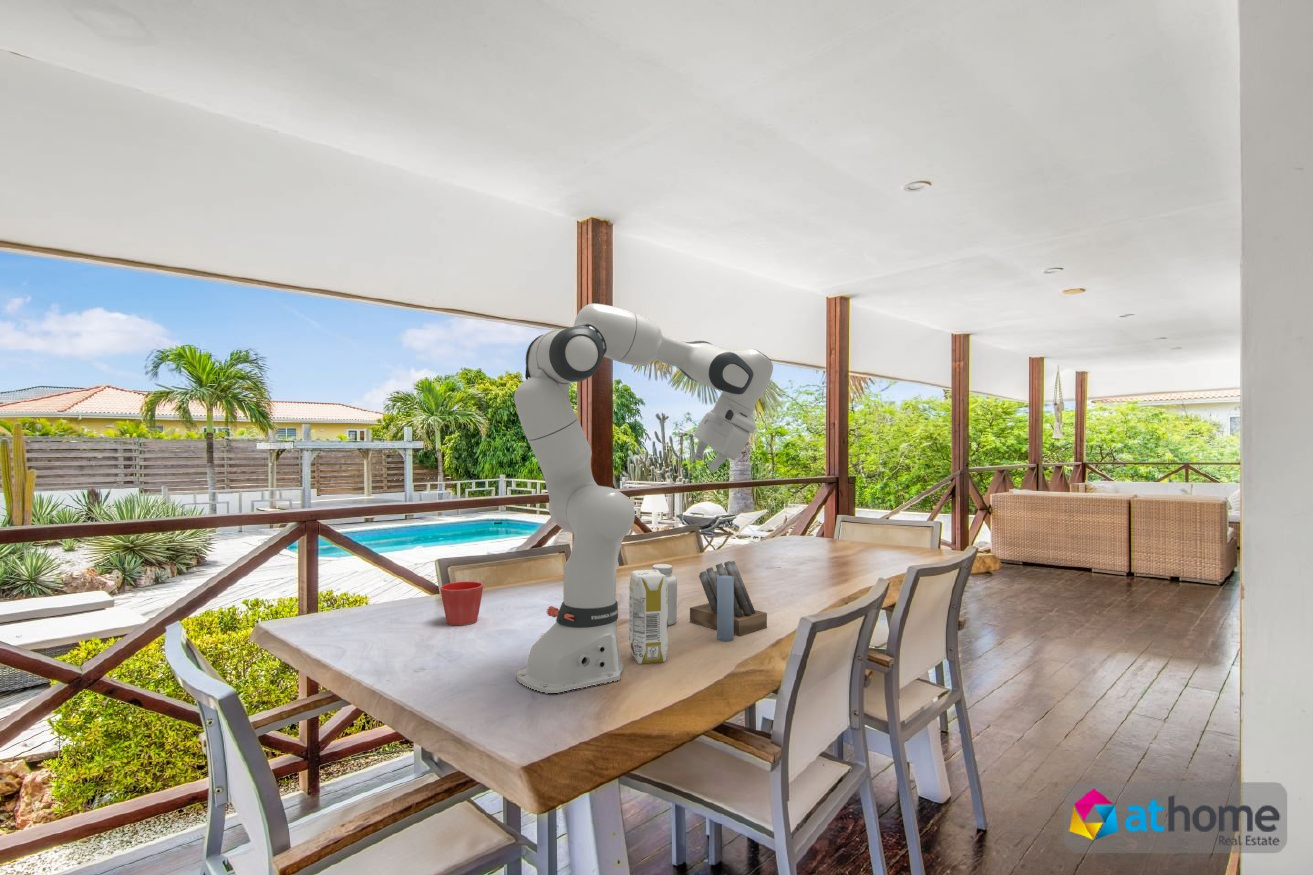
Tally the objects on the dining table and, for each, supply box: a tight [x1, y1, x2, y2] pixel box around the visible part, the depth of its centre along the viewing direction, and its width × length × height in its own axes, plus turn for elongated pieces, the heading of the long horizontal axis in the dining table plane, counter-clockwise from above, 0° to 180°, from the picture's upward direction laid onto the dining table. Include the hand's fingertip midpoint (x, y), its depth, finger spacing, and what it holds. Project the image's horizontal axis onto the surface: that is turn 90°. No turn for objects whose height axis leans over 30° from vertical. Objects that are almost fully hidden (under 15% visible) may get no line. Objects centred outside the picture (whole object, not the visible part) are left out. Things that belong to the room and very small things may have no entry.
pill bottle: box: [651, 563, 678, 626], centre depth 177 cm, size 8×8×15 cm
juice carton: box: [628, 569, 669, 665], centre depth 149 cm, size 8×9×19 cm
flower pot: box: [439, 581, 484, 626], centre depth 177 cm, size 11×11×10 cm
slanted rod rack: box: [689, 560, 768, 637], centre depth 175 cm, size 17×11×18 cm, turn 43°
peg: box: [716, 575, 735, 642], centre depth 163 cm, size 4×4×15 cm
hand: (703, 464), depth 162 cm, fingers open, 8 cm apart
